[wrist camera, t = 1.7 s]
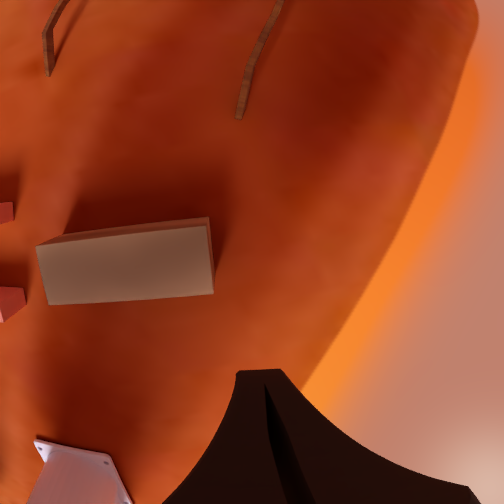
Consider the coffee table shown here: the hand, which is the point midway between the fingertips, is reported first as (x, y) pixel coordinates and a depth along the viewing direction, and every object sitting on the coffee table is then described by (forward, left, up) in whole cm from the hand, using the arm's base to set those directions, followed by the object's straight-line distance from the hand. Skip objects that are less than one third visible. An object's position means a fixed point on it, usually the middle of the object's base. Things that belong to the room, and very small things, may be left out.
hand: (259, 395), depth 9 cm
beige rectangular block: (+2, +6, -10) cm, 12 cm away
